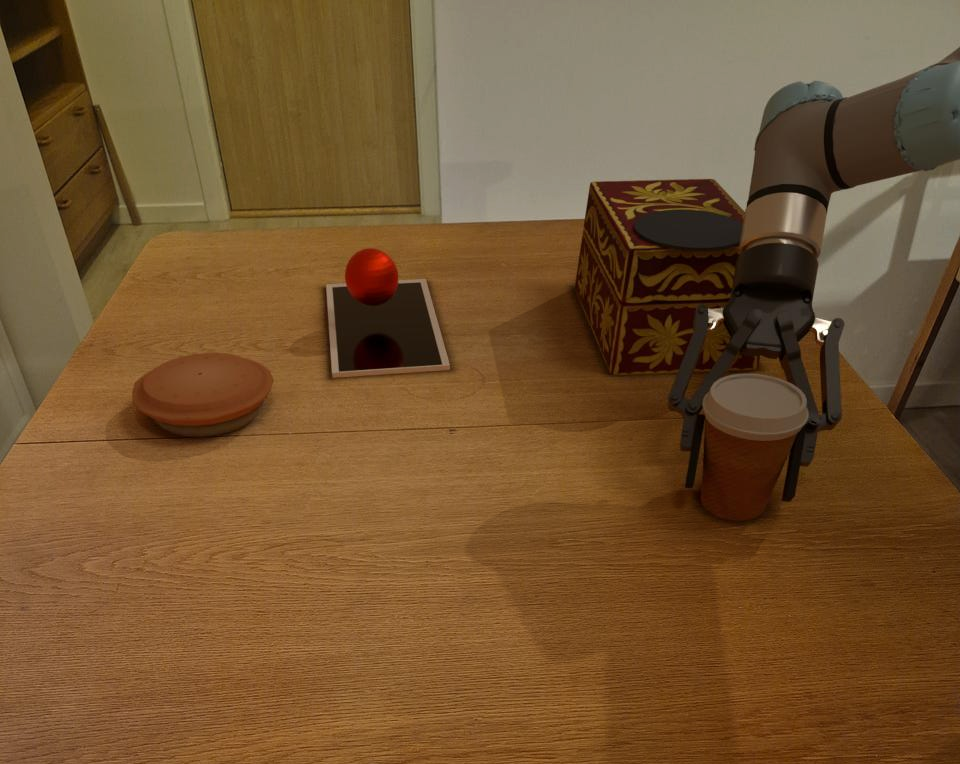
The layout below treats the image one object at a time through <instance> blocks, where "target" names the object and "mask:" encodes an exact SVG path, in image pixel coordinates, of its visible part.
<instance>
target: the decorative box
mask: <svg viewBox="0 0 960 764" xmlns="http://www.w3.org/2000/svg"><path fill="white" fill-rule="evenodd" d="M678 209H684V210H699V211H707V212H712V213H717V214H721V215H724V216H728V217H730V218H733V219H735V220H737V221H739V222H740V223H742V224H743V221H744V215H745V210H744V209H743V208H742V207H741V206H740V205H739V204H738V203H737V202H736V201H735V200H734V199H733V197H732V196H731V195H730V194H729V193H728V192H727V191H726V190H725V189H724V187H722V186H721V184H719V182H718V181H717V180H716V179H715V178H685V179H683V178H680V179H678V178H677V179H640V180H639V179H637V180H635V179H634V180H601V181H600V180H599V181H597V180H596V181H590V183H589V187H588V193H587V201H586V207H585V214H584V219H583V220H584V222H583V230H582V234H581V242H580V248H579V255H578V262H577V269H576V274H575V283H574V290H575V293H576V295H577V299H578V301H579V303H580V306H581V308H582V310H583V312H584V315H585V317H586V320H587V322H588V325H589V327H590V329H591V331H592V334H593V337H594V339H595V341H596V344H597V346H598V348H599V351H600V353H601V355H602V358H603V360H604V362H605V364H606V367H607V370H608V371H609V373H610V375H611V376H628V375H630V376H631V375H632V376H633V375H655V374H656V375H657V374H677V373H678V371H679V368H680V366H681V363H682V360H683V358H684V355H685V353H686V350H687V348H688V345H689V342H690V340H691V337H692V335H693V331H694V316H695V310H696V307H697V306H698V305H701V304H704V305H706V306H707V307H708V309H715V308H724V307H725V305H726V304H727V303H728V301H729V300H730V296H731V291H732V285H733V279H734V273H735V267H736V261H737V258H738V257H739V256H740V254H739V245H737V246H735V247H731V248H728V249H723V250H716V251H685V250H677V249H670V248H666V247H662V246H658V245H655V244H652V243H650V242H647V241H645V240H643V239H642V238H640V237H639V236H638V235H637V234H636V233H635V231H634V224H635V222H636V220H637V219H638V218H640V217H642V216H644V215H646V214H649V213H653V212H657V211H664V210H678ZM730 340H731V337H730V335H729V333H728V331H727V329H726V328H725V326H724V324H723V322H720V323H718V324H717V325H716V327H715V330H714V331H713V332H712V333H708V334H706V339H705V343H704V346H703V348H702V351H701V354H700V356H699V359H698V361H697V364H696V366H695V369H694V372H693V373H705V372H706V373H707V372H708V373H709V372H710V370H711V369H712V367H713V366H714V364H715V363H716V362H717V360H718V359H719V357H720V356H721V354H722V353H723V351H724V350H725V348H726V347H727V345H728V343H729V342H730ZM760 358H761V355H759V356H752V357H751V356H744V353H742V354H741V355H740V357H739V358H738V360H737V361H736V362H735V364H733V366H732V367H731V369H730V370H729V371H728V372H731V371H732V372H733V371H755V370H758V369H759V364H760Z"/></svg>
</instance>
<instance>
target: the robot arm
mask: <svg viewBox="0 0 960 764" xmlns="http://www.w3.org/2000/svg"><path fill="white" fill-rule="evenodd" d="M758 131H759V132H758V133H757V136H756V137H755V143H754V147H753V148H754V149H753V151H754V155H753V156H754V157H753V164H752V170H751V171H752V172H751V179H750V185H749V192H748V197H747V201H746V207H745V210H744V212H745V215H744V221H743V226H742V232H741V238H740V244H739V254H740V256H739V257H738V258H737V261H736V267H735V273H734V279H733V285H732V291H731V296H730V300H729V301H728V303H727V304H726V305H725V307H724V308H715V309H708V307H707V306H706V305H704V304H701V305H698V306H697V307H696V310H695V316H694V331H693V335H692V337H691V340H690V342H689V345H688V348H687V350H686V353H685V355H684V358H683V360H682V363H681V366H680V368H679V371H678V373H676V375H675V379H674V381H673V383H672V386H671V389H670V392H669V394H668V399H667V409H668V410H669V411H670V412H676V413H677V414H679V415H680V416H682V419H683V422H682V428H681V434H680V441H679V450H680V451H681V452H688V453H690V454H689V459H688V464H687V469H686V470H687V471H686V476H685V482H684V489H691V490H693V488H694V485H695V481H696V475H697V469H698V463H699V457H700V451H701V444H702V439H703V433H704V429H705V420H706V417H705V414H704V413H703V414H702V413H701V412H702V410H703V405H702V404H703V399H704V397H705V395H706V394H707V393H708V392H709V391H710V388H711V387H712V385H713V384H714V382H716V381H717V380H719V379H720V378H723V377H726V376H727V375H728V374H729V372H730V371H729V370H730V369H731V367H732V366H733V364H735V362H736V361H737V360H738V358H739V357H740V355H741V354H742V353H744V356H751V357H752V356H759V355H760V357H764V358H766V359H769V360H770V359H771V360H777V359H778V361H779V364H780V368H781V369H782V370H783V373H784V376H785V379H786V381H787V382H789V383H791V384H793V385H795V386H796V387H798V388H799V389H800V390H801V391H802V392H803V393H804V395H805V397H806V399H807V409H808V413H809V416H808V420H807V422H806V424H805V425H804V426H803V427H802V428H801V430H800V431H799V432H798V433H797V436H796V438H795V441H794V443H793V445H792V448H791V450H790V452H789V455H788V461H787V467H786V471H785V473H786V474H785V477H784V478H785V479H784V486H783V490H782V497H781V502H787V503H790V502H791V501H792V500H793V499H794V498H795V496H796V491H797V487H798V486H797V485H798V481H799V473H800V469H801V468H800V467H805V468H808V467H809V466H810V465H811V463H812V461H813V460H814V457H815V450H816V444H817V439H818V433H819V432H824V431H833V430H834V429H835V428H836V427H837V426H838V424H839V423H840V421H841V420H842V416H843V415H842V413H843V412H842V411H843V410H842V392H841V372H840V370H841V369H840V349H839V343H840V340H841V336H842V335H843V334H842V333H843V331H844V328H845V321H844V320H843V319H842V317H836V318H833V319H831V320H828V319H823V318H819V317H816V313H815V311H814V309H813V300H814V294H815V287H816V282H817V276H818V271H819V261H818V259H819V258H820V256H821V253H822V248H823V240H824V236H825V235H824V234H825V229H826V221H827V215H828V210H829V205H830V201H831V197H832V194H833V193H836V192H840V191H843V190H845V191H846V190H849V189H853V188H855V187H858V186H862V185H866V184H871V183H874V182H879V181H883V180H887V179H892V178H895V177H899V176H904V175H909V174H913V173H916V172H917V173H918V172H922V171H924V172H928V171H934V170H935V169H937V168H938V167H941V166H944V165H946V164H949V163H952V162H955V161H959V160H960V46H959V47H958V48H956V49H955V50H953V51H952V52H951V53H949V55H947V56H946V57H944V58H942V59H941V60H940V61H938V62H936V63H934V64H932V65H929V66H927V67H925V68H923V69H921V70H918V71H916V72H913V73H911V74H908V75H906V76H903V77H901V78H898V79H896V80H892V81H890V82H887V83H885V84H881V85H879V86H876V87H873V88H871V89H867V90H865V91H861V92H860V93H856V94H853V95H851V96H849V97H847V96H846V97H844V96H843V94H842V92H841V91H840V90H839V89H838V88H837V87H836V86H834V85H832V84H830V83H828V82H825V81H821V80H813V81H811V82H809V83H805V82H803V81H801V80H799V81H795V82H791V83H789V84H787V85H785V86H783V87H781V88H780V89H778V90H777V91H776V92H775V93H774V94H772V95H771V97H770V98H769V99H768V101H767V102H766V105H765V107H764V109H763V114H762V117H761V122H760V126H759V130H758ZM720 322H723V324H724V326H725V328H726V329H727V331H728V333H729V335H730V337H731V340H730V342H729V343H728V345H727V347H726V348H725V350H724V351H723V353H722V354H721V356H720V357H719V359H718V360H717V362H716V363H715V364H714V366H713V367H712V369H711V370H710V371H709V372H708V373H707V374H706V376H705V377H704V379H703V380H702V382H701V383H700V384H699V386H698V387H697V389H696V390H695V392H694V393H693V395H691V397H690V399H689V398H687V397H686V396H685V395H686V392H687V390H688V387H689V384H690V382H691V379H692V377H693V375H694V373H695V372H694V369H695V366H696V364H697V361H698V359H699V356H700V354H701V351H702V348H703V346H704V343H705V339H706V334H708V333H712V332H713V331H714V330H715V327H716V325H717V324H718V323H720ZM810 332H812V333H813V334H814V337H815V338H814V340H815V343H816V344H817V345H818V346H820V350H819V373H820V376H819V377H820V396H821V399H820V400H821V414H819V411H818V408H817V404H816V400H815V398H814V395H813V392H812V389H811V385H810V382H809V379H808V375H807V372H806V369H805V365H804V363H803V359H802V351H801V348H800V344H799V342H801V341H802V340H803V338H804V337H806V335H808V333H810Z"/></svg>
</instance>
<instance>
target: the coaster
mask: <svg viewBox="0 0 960 764" xmlns="http://www.w3.org/2000/svg"><path fill="white" fill-rule="evenodd" d="M742 226H743V224H742V223H740V222H739V221H737V220H735V219H733V218H730V217H728V216H724V215H721V214H717V213H712V212H707V211H699V210H684V209H678V210H664V211H657V212H653V213H649V214H646V215H644V216H642V217H640V218H638V219H637V220H636V222H635V224H634V231H635V233H636V234H637V235H638V236H639V237H640V238H642V239H643V240H645V241H647V242H650V243H652V244H655V245H658V246H662V247H666V248H670V249H677V250H685V251H716V250H723V249H728V248H731V247H735V246H737V245H739V244H740V238H741V232H742Z"/></svg>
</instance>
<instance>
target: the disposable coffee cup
mask: <svg viewBox="0 0 960 764" xmlns="http://www.w3.org/2000/svg"><path fill="white" fill-rule="evenodd" d="M702 405H703V409H702V410H703V415H705V422H704V436H703V437H704V438H703V453H702V470H701V488H700V503H701V504H702V507H703V508H704V509H705V510H706V511H708V512H709V513H710V514H712V515H714V516H716V517H719V518H721V519H724V520H729V521H731V520H732V521H738V522H739V521H742V522H743V521H749V520H753V519H755V518H758V517H760V516H761V515H762V514H763V513H764V512H765V510H766V508H767V505H768V504H769V501H770V498H771V496H772V493H773V492H774V489H775V487H776V484H777V482H778V481H779V479H780V475H781V473H782V471H783V468H784V466H785V464H786V461H787V459H788V458H789V455H790V450H791V448H792V445H793V443H794V441H795V438H796V436H797V433H798V432H799V431H800V430H801V428H802V427H803V426H804V425H805V424H806V422H807V420H808V416H809V413H808V409H807V399H806V397H805V395H804V393H803V392H802V391H801V390H800V389H799V388H798V387H796V386H795V385H793V384H791V383H789V382H787V380H785V379H783V378H778V377H776V376H771V375H767V374H762V373H751V372H750V373H748V372H747V373H734V374H729V375H726V376H725V377H723V378H720V379H719V380H717V381H716V382H714V384H713V385H712V387H711V388H710V391H709V392H708V393H707V394H706V395H705V397H704V399H703V404H702Z"/></svg>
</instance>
